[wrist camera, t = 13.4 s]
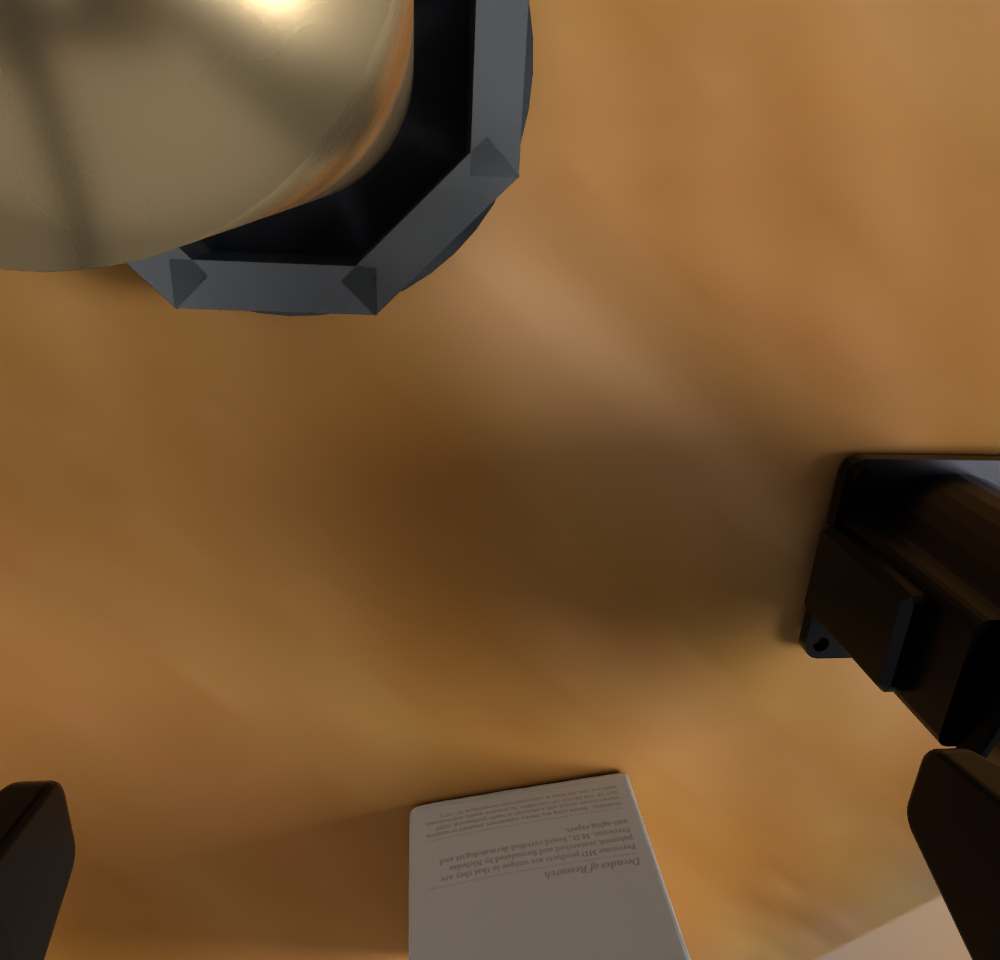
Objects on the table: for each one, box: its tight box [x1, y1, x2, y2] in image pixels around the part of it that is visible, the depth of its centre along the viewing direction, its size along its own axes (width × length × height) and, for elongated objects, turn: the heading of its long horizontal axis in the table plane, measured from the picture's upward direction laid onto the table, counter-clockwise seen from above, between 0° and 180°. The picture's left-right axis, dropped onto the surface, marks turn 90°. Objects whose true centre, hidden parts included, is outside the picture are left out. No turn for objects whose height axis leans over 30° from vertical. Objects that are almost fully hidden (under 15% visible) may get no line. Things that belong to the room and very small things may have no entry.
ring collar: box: [127, 0, 533, 316], centre depth 15 cm, size 11×11×2 cm
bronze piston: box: [0, 0, 414, 272], centre depth 10 cm, size 6×6×12 cm
